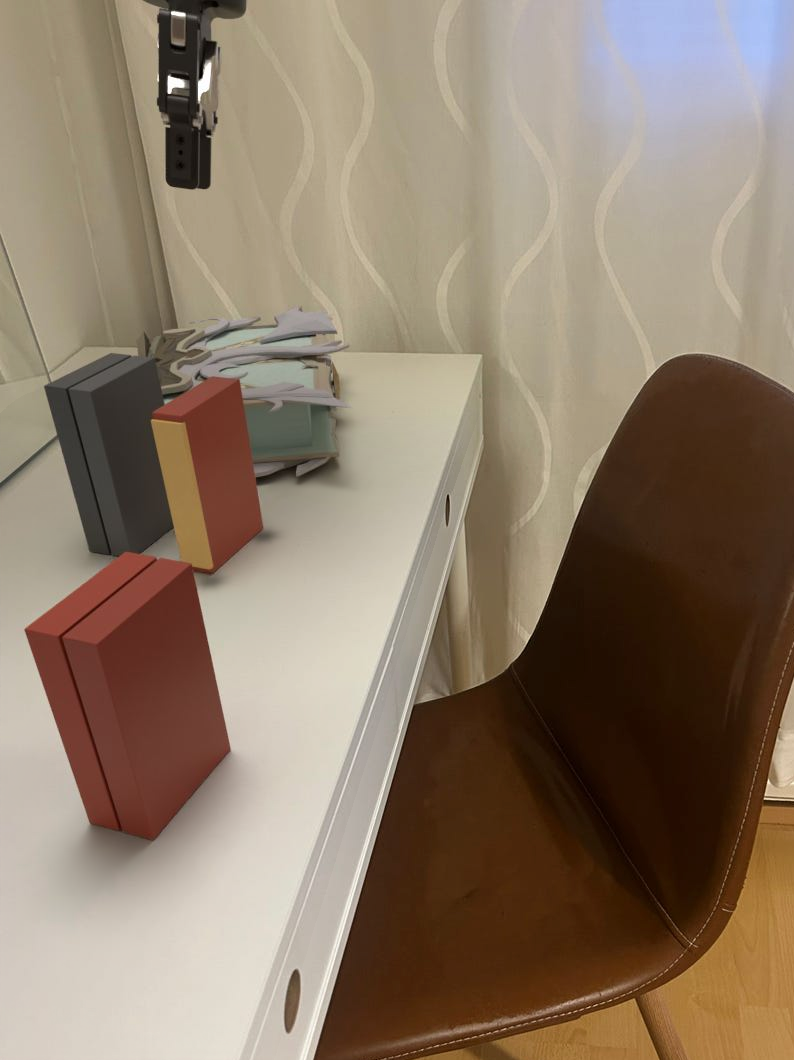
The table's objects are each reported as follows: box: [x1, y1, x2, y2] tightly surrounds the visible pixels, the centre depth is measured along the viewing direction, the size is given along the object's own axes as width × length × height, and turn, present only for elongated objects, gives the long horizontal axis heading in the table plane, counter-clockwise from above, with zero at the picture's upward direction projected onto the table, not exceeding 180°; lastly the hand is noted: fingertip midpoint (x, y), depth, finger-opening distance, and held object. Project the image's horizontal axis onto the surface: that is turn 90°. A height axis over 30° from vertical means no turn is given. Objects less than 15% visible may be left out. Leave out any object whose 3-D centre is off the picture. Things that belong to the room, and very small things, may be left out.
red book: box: [151, 376, 264, 574], centre depth 76 cm, size 3×8×13 cm, turn 161°
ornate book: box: [136, 305, 353, 478], centre depth 98 cm, size 23×10×30 cm
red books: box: [24, 552, 232, 841], centre depth 53 cm, size 4×8×13 cm, turn 161°
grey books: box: [43, 352, 174, 557], centre depth 78 cm, size 4×8×14 cm, turn 161°
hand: (189, 188), depth 72 cm, fingers open, 8 cm apart
